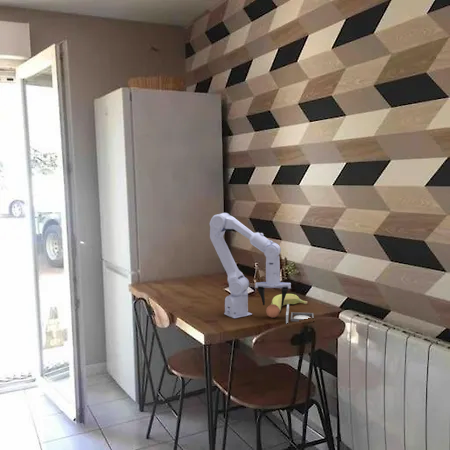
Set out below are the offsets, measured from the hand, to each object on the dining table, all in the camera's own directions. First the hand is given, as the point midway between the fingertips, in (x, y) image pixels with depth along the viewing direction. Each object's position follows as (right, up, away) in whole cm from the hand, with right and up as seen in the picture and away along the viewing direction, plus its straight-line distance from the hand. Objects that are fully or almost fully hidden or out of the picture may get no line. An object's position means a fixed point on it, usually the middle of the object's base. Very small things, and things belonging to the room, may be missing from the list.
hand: (273, 304), depth 203 cm
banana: (+9, -4, +16) cm, 19 cm away
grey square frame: (+12, -5, -1) cm, 13 cm away
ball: (0, -3, 0) cm, 3 cm away
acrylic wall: (+6, -5, 0) cm, 8 cm away
